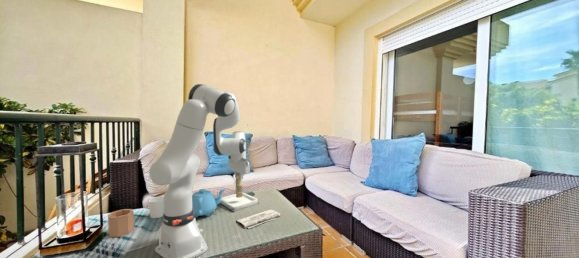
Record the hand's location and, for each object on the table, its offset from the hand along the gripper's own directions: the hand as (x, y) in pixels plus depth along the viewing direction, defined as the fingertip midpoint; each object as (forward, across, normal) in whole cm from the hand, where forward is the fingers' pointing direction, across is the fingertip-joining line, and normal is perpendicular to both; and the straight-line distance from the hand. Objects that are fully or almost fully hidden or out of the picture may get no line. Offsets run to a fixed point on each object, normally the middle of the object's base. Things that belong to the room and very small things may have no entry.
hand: (239, 178), depth 143 cm
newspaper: (+17, -27, +4) cm, 32 cm away
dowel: (+12, 0, 0) cm, 12 cm away
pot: (+16, +5, +60) cm, 63 cm away
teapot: (+16, 0, +23) cm, 28 cm away
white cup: (+16, +13, +43) cm, 48 cm away
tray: (+16, +1, 0) cm, 16 cm away
